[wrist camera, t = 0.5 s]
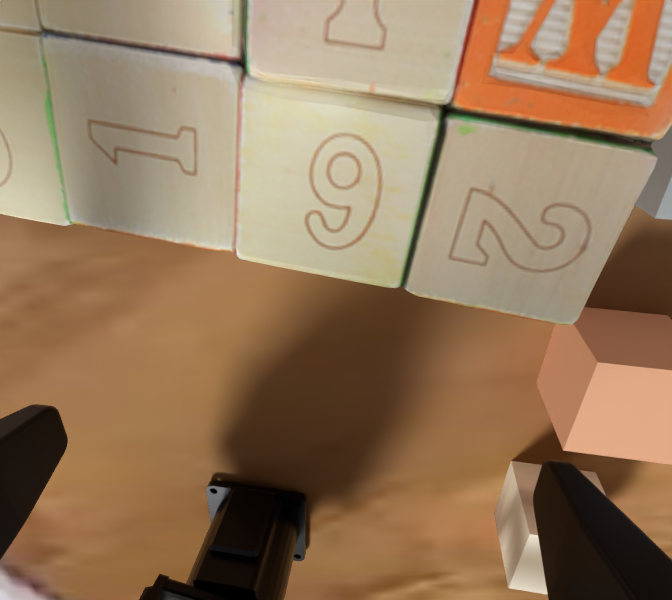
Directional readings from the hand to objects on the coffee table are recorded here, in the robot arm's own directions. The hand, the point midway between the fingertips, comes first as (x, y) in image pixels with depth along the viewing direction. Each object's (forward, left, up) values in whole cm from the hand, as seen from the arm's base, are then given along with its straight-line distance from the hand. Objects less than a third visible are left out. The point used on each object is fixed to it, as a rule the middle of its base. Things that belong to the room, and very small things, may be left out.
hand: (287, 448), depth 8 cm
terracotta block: (-5, -12, -13) cm, 19 cm away
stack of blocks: (+7, +5, -14) cm, 16 cm away
